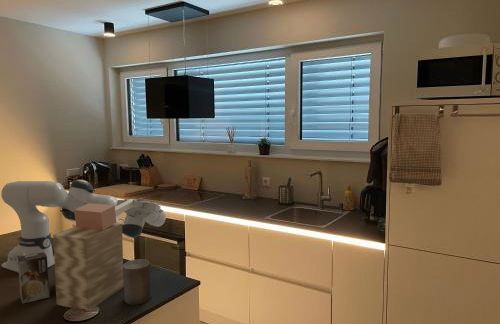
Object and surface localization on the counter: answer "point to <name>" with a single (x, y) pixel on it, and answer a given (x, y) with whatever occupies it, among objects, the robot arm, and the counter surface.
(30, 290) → the coffee box
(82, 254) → the oak pedestal
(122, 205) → the handled block
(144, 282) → the pillar candle
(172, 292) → the counter surface
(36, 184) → the robot arm
